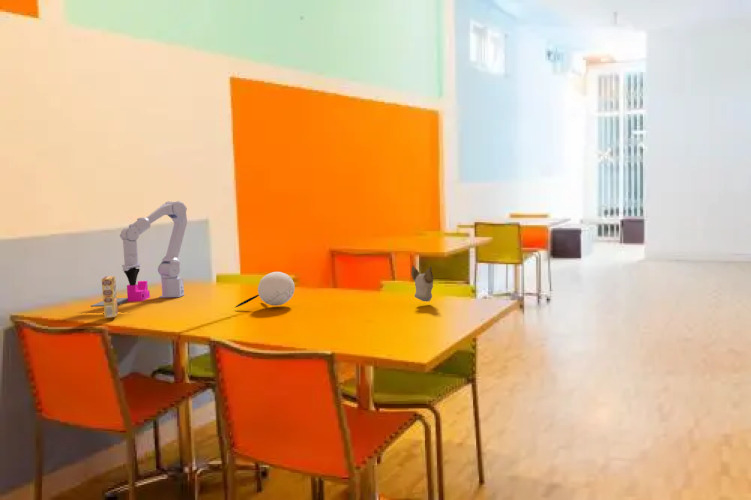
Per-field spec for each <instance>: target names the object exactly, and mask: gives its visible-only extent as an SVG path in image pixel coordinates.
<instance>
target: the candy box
mask: <svg viewBox="0 0 751 500" xmlns="http://www.w3.org/2000/svg"><path fill="white" fill-rule="evenodd" d="M116 283H117V282H116V275H111V276H110V275H109V276H108V275H107V276H104V277H103V278H102V279H101V289H102V299H103V300H102V301H104V306H103V312H104V318H105V319H106V318H115V317H117V315H118V314H119V309H118V308H119V305H118V306H117V298H118V295H117V284H116Z"/></svg>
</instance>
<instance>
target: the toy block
mask: <svg viewBox="0 0 751 500" xmlns="http://www.w3.org/2000/svg"><path fill="white" fill-rule="evenodd" d="M148 287H149V286H148V280H138V281H137V283H136V285H130V284H127V285H126V293H127V297H126V298H128V301H127V303H128V302H143V301H145V300H148V299H150V298H151V295H150V294H151V293H150V292H151V291H150V290H149V288H148Z"/></svg>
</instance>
